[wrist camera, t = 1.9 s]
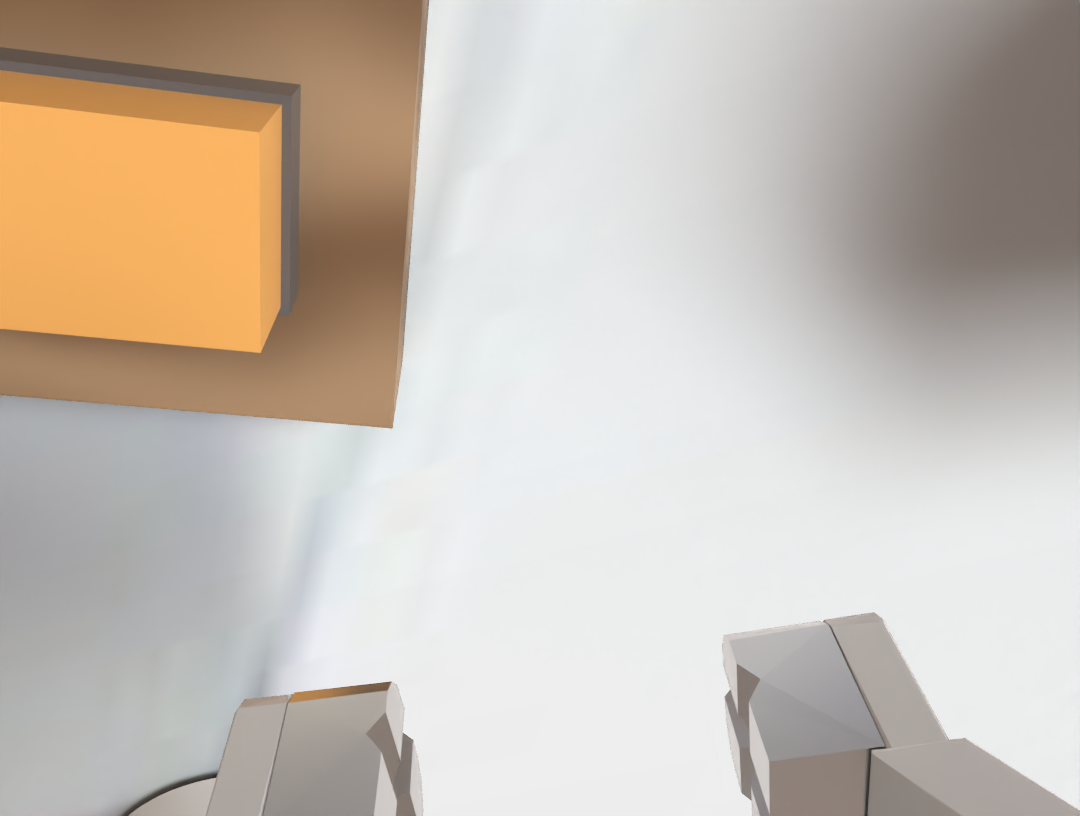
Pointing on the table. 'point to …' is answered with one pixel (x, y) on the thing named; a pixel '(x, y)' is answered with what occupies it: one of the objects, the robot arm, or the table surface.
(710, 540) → the table surface
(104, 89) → the eraser orange
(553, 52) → the table surface
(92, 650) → the table surface
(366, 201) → the riser
